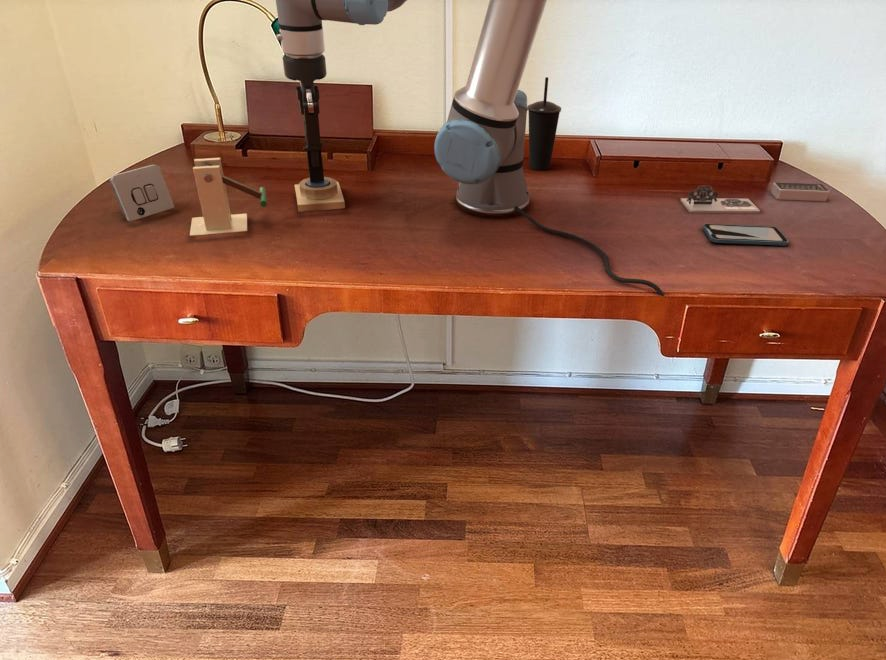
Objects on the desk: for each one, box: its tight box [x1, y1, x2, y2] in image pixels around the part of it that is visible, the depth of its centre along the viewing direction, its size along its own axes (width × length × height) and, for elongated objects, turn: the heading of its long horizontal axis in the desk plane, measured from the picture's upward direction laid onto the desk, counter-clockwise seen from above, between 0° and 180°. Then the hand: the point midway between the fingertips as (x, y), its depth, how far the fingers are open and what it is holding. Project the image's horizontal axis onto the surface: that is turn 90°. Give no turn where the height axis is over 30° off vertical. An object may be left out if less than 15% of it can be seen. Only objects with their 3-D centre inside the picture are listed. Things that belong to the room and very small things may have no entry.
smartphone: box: [702, 223, 790, 247], centre depth 132 cm, size 7×1×15 cm
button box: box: [294, 176, 346, 213], centre depth 138 cm, size 9×11×4 cm
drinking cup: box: [527, 76, 562, 171], centre depth 156 cm, size 8×8×20 cm
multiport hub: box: [770, 182, 830, 202], centre depth 151 cm, size 4×11×2 cm, turn 89°
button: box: [307, 179, 329, 188], centre depth 137 cm, size 4×4×2 cm
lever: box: [202, 162, 268, 208], centre depth 124 cm, size 12×7×2 cm, turn 108°
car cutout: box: [680, 185, 761, 214], centre depth 144 cm, size 15×7×4 cm, turn 94°
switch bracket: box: [189, 157, 248, 237], centre depth 125 cm, size 10×8×13 cm
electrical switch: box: [108, 164, 175, 222], centre depth 130 cm, size 9×5×9 cm, turn 141°
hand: (317, 180), depth 137 cm, fingers closed
